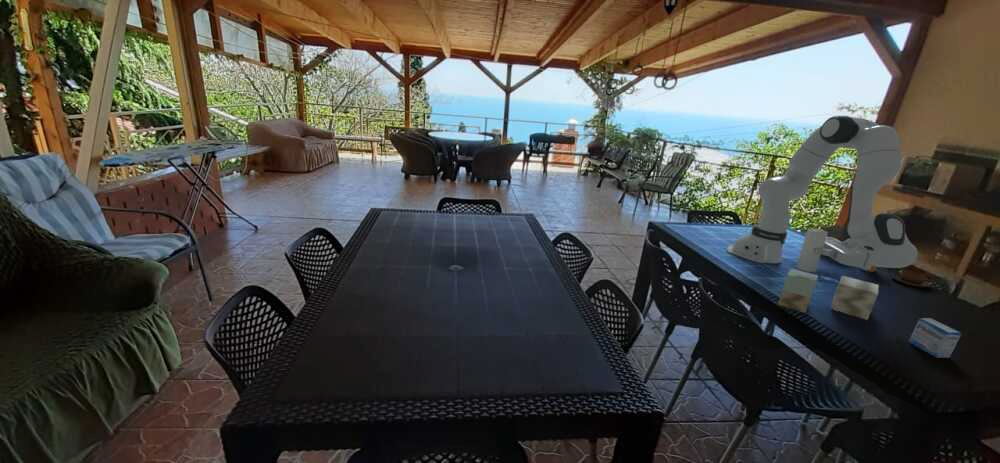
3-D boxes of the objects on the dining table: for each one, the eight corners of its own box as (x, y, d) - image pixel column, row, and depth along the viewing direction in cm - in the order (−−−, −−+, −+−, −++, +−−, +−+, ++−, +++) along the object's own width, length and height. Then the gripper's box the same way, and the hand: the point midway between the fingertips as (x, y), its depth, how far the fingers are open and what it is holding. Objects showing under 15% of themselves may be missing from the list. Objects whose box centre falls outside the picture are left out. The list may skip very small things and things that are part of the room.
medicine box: (907, 342, 120) (918, 317, 118) (920, 342, 121) (931, 317, 118) (936, 358, 113) (948, 332, 110) (950, 358, 113) (962, 332, 110)
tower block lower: (777, 304, 140) (782, 289, 138) (782, 297, 145) (786, 283, 144) (805, 313, 135) (810, 298, 133) (808, 305, 140) (813, 290, 138)
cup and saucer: (918, 280, 167) (924, 267, 165) (937, 292, 156) (943, 278, 154) (884, 275, 171) (889, 262, 169) (900, 286, 160) (906, 272, 158)
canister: (795, 268, 135) (806, 230, 131) (797, 264, 139) (809, 227, 134) (814, 273, 132) (827, 234, 127) (816, 268, 135) (828, 231, 131)
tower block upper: (782, 289, 138) (787, 274, 136) (786, 283, 144) (791, 268, 142) (810, 298, 133) (815, 282, 131) (813, 290, 138) (818, 275, 136)
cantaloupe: (805, 251, 195) (814, 223, 190) (822, 248, 200) (831, 220, 195) (837, 262, 183) (848, 232, 178) (854, 258, 188) (865, 229, 183)
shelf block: (830, 308, 139) (839, 283, 135) (832, 299, 145) (841, 275, 142) (867, 320, 132) (878, 293, 129) (868, 310, 139) (878, 284, 136)
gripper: (838, 232, 139) (796, 229, 142) (880, 253, 120) (830, 248, 123) (833, 249, 141) (791, 245, 144) (873, 271, 122) (824, 267, 125)
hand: (809, 247), depth 133 cm, fingers closed on canister, 5 cm apart
